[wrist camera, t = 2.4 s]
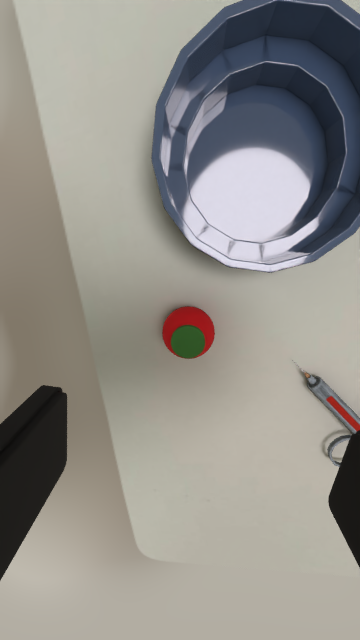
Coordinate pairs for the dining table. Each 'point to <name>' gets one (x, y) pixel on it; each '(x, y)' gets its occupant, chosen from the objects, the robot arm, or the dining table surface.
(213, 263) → the dining table surface
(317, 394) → the syringe
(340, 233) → the bowl
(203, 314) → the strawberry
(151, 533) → the dining table surface
